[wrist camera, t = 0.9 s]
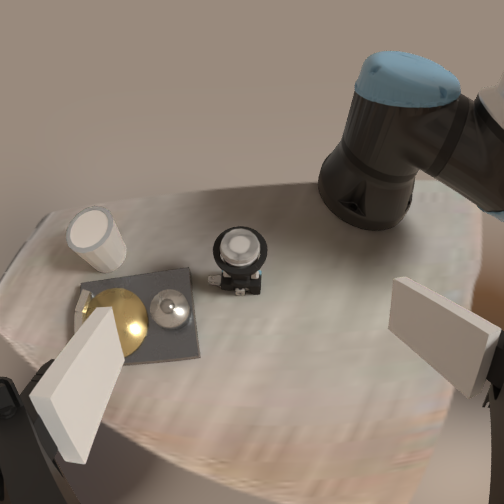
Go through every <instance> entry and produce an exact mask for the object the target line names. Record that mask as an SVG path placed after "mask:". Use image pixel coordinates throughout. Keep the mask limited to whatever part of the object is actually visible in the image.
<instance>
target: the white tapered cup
mask: <svg viewBox="0 0 504 504" xmlns="http://www.w3.org/2000/svg"><path fill="white" fill-rule="evenodd" d="M66 241H67V244H68V246H69V247H70V248H71V249H72V250H73V251H74V252H75V253H77V254H78V255H79V256H80V257H81V258H83V259H84V260H85V261H86V262H87V263H89V264H90V265H91V266H92V267H93V268H95V269H96V270H97V271H98V272H102V273H109V272H113V271H114V270H116V269H117V268H119V267H120V266H121V264H122V263H123V262H124V260H125V257H126V246H125V244H124V242H123V239H122V237H121V235H120V233H119V230H118V228H117V226H116V223H115V221H114V219H113V217H112V215H111V213H110V211H109V210H107V209H106V208H104V207H101V206H92V207H89V208H86V209H84V210H82V211H81V212H79V213H78V214H77V215H76V216H75V217H74V218H73V219H72V221H71V222H70V224H69V226H68V228H67V232H66Z"/></svg>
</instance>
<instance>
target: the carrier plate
mask: <svg viewBox="0 0 504 504" xmlns="http://www.w3.org/2000/svg"><path fill="white" fill-rule="evenodd" d="M97 307H112V310H113V314H114V319H115V323H116V327H117V332H118V336H119V340H120V344H121V348H122V352H123V355H124V359H125V361H124V363H123V366H124V365H137V364H149V363H160V362H170V361H179V360H188V359H196V358H201V357H200V350H199V342H198V334H197V326H196V318H195V310H194V301H193V292H192V282H191V272H190V270H189V267H188V268H181V269H175V270H168V271H161V272H154V273H147V274H140V275H134V276H127V277H120V278H113V279H106V280H99V281H92V282H85V283H81V291H80V297H79V300H78V303H77V305H76V308H75V311H76V312H75V317H74V335H75V333H76V332H77V331H78V330H79V328H80V327H81V326H82V325H83V323H84V322H85V321H86V320H87V318H88V317H89V316H90V315H91V314H92V312H93V311H94V310H95V309H96V308H97Z"/></svg>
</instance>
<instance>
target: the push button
mask: <svg viewBox="0 0 504 504" xmlns="http://www.w3.org/2000/svg"><path fill="white" fill-rule="evenodd" d="M259 253H260V254H261V255H260V257H259V259H258V255H259ZM220 254H221V256H222V257H223V260H222V259H221V257H220ZM213 255H214V259H215V262H216V263H217V265H218V266H219V267H220V268H221V269H222V275H217V276H212V275H209V276H208V281H209V284H211V285H217V286H221V289H223V290H236V295H243V296H244V295H245V291H251V293H252V294H254V295H259V294H260V290H261V273H262V272H261V271H260V270H259V269H260V268H261V266H262V265H263V264H264V262H265V260H266V257H267V244H266V241H265V239H264V238H263V237H262V235H261V234H260V233H258V232H257V231H256V230H254V229H251V228H248V227H241V226H239V227H233V228H229V229H227V230H225V231H224V232H222V233H221V234H220V235H219V236H218V237H217V239H216V241H215V243H214V246H213ZM223 261H224V262H223ZM211 277H213V278H214V279H213V278H211ZM212 282H214V283H212ZM239 293H242V294H239Z"/></svg>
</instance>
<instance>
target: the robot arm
mask: <svg viewBox="0 0 504 504" xmlns="http://www.w3.org/2000/svg"><path fill="white" fill-rule="evenodd" d="M419 169H420V170H422V171H424V172H425V173H427V174H429V175H431V176H432V177H434V178H435V179H437V180H438V181H440V182H442V183H443V184H445V185H447V186H448V187H450V188H451V189H453V190H455V191H456V192H458V193H459V194H461V195H462V196H464V197H465V198H467V199H468V200H470V201H471V202H473V203H474V204H476V205H477V207H478V208H479V209H480V210H482V211H483V212H486V213H487V214H491V215H492V216H494V217H495V218H497V219H498V220H500V221H503V222H504V72H503V74H502V76H501V78H500V80H499V82H498V84H497V85H496V86H494V87H484V88H481V90H480V91H479V93H478V95H477V97H476V99H475V100H474V101H473V100H471V99H469V98H467V97H466V96H464V95H462V94H461V90H460V83H459V81H458V79H457V78H456V77H455V76H454V75H453V74H452V73H451V72H450V71H447V70H445V69H444V68H443V67H442V66H441V65H439V64H437V63H435V62H433V61H431V60H429V59H426V58H423V57H420V56H417V55H414V54H410V53H405V52H398V51H382V52H378V53H374V54H372V55H371V56H369V57H368V58H367V59H366V60H365V62H364V63H363V66H362V69H361V72H360V75H359V78H358V80H357V81H356V83H355V92H354V96H353V100H352V103H351V107H350V111H349V115H348V118H347V122H346V126H345V129H344V133H343V137H342V139H341V141H340V142H339V144H338V145H337V146H336V148H335V149H334V150H333V152H332V153H331V154H330V155H329V156H328V157H327V158H326V159H325V161H324V162H323V164H322V167H321V171H320V174H319V180H318V186H319V191H320V194H321V196H322V198H323V200H324V202H325V203H326V205H327V206H328V207H329V209H330V210H331V211H332V212H333V213H334V214H336V215H337V216H338V217H339V218H341V219H342V220H344V221H345V222H347V223H349V224H351V225H353V226H356V227H359V228H362V229H367V230H385V229H389V228H391V227H393V226H395V225H397V224H398V223H399V222H400V221H401V220H402V219H403V217H404V216H405V214H406V213H407V211H408V210H409V208H410V205H411V202H412V193H413V189H414V182H415V175H416V174H417V172H418V170H419ZM388 329H389V330H390V331H391V332H393V333H394V334H395V335H396V336H397V337H398V338H400V339H401V340H402V341H403V342H404V343H405V344H406V345H408V346H409V347H410V348H411V349H412V350H413V351H415V352H416V353H417V354H418V355H419V356H420V357H421V358H423V359H424V360H425V361H426V362H427V363H428V364H429V365H431V366H432V367H433V368H434V369H435V370H436V371H437V372H439V373H440V374H441V375H442V376H443V377H444V378H445V379H446V380H448V381H449V382H450V383H451V384H452V385H453V386H454V387H455V388H457V389H458V390H459V391H460V392H461V393H462V394H463V395H464V396H466V397H467V398H468V399H470V398H472V397H474V396H476V395H478V394H479V393H481V392H482V389H483V387H484V384H485V381H486V379H487V380H488V381H490V382H491V385H490V388H489V390H488V393H487V395H486V398H485V401H484V403H483V407H485V405H486V403H487V402H490V404H489V406H488V407H489V408H490V417H491V438H492V439H491V447H492V453H491V457H492V458H491V483H490V495H489V504H504V331H503V330H501V329H500V328H499V327H497V326H495V325H494V324H492V323H490V322H488V321H487V320H485V319H483V318H481V317H480V316H478V315H476V314H474V313H473V312H471V311H469V310H467V309H465V308H464V307H462V306H460V305H458V304H456V303H454V302H453V301H451V300H449V299H447V298H445V297H443V296H442V295H440V294H438V293H436V292H434V291H432V290H430V289H429V288H427V287H425V286H423V285H421V284H419V283H417V282H415V281H413V280H411V279H410V278H408V277H406V276H405V277H398V278H393V288H392V299H391V309H390V318H389V326H388ZM124 361H125V359H124V355H123V352H122V348H121V344H120V340H119V336H118V332H117V327H116V323H115V319H114V314H113V310H112V307H97V308H96V309H95V310H94V311H93V312H92V314H91V315H90V316H89V317H88V318H87V320H86V321H85V322H84V323H83V325H82V326H81V327H80V328H79V330H78V331H77V332H76V333H75V335H74V336H73V337H72V338H71V340H70V341H69V342H68V343H67V345H66V346H65V347H64V349H63V350H62V351H61V353H60V354H59V355H58V356H57V358H56V359H51V360H50V361H48V362H47V363H45V364H44V365H43V366H42V367H41V368H40V369H39V370H38V372H37V373H36V375H35V376H34V377H33V378H32V380H31V382H29V384H28V385H27V386H26V388H25V389H24V390H23V392H22V393H21V394H20V396H19V394H18V392H17V389H16V387H15V385H14V383H13V381H12V380H11V379H9V378H7V377H0V504H81V503H80V502H79V500H78V499H77V497H76V495H75V493H74V492H73V490H72V488H71V486H70V485H69V483H68V481H67V479H66V478H65V476H64V474H63V472H62V470H61V468H60V466H59V464H58V463H57V461H56V460H55V458H54V457H55V455H56V452H57V450H59V452H60V454H61V455H62V457H63V458H64V460H65V461H67V462H73V463H80V464H85V463H86V461H87V458H88V455H89V452H90V449H91V446H92V443H93V441H94V438H95V435H96V432H97V430H98V427H99V424H100V421H101V419H102V416H103V413H104V411H105V408H106V406H107V403H108V400H109V398H110V395H111V393H112V390H113V388H114V385H115V383H116V380H117V378H118V375H119V373H120V371H121V368H122V366H123V363H124Z"/></svg>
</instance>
